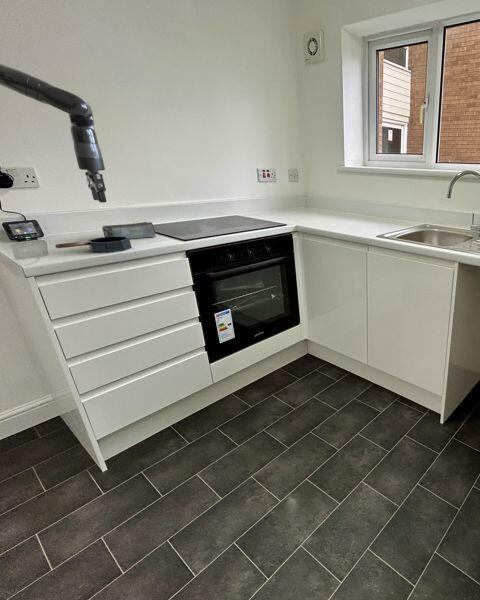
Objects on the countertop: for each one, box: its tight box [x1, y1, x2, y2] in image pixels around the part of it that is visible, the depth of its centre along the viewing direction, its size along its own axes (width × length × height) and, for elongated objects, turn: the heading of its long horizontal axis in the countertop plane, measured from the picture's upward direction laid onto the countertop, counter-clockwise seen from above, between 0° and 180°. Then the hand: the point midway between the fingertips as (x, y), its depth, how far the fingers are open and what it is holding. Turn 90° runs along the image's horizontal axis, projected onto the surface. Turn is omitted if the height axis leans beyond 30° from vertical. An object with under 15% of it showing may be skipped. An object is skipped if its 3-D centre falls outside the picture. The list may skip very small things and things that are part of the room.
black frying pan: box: [54, 236, 132, 254], centre depth 139 cm, size 22×13×4 cm, turn 140°
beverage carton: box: [102, 221, 156, 240], centre depth 162 cm, size 8×19×7 cm, turn 127°
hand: (100, 201), depth 136 cm, fingers open, 8 cm apart
